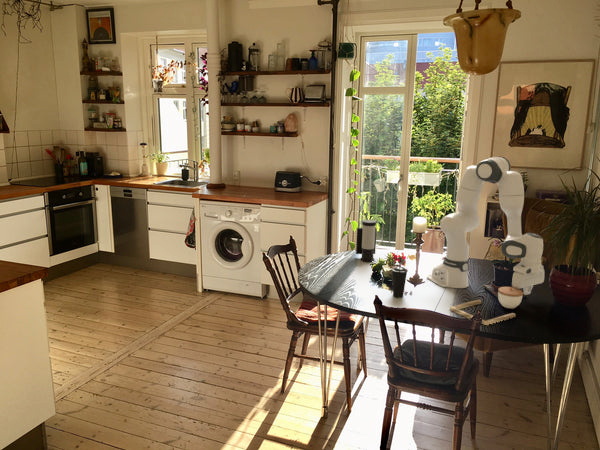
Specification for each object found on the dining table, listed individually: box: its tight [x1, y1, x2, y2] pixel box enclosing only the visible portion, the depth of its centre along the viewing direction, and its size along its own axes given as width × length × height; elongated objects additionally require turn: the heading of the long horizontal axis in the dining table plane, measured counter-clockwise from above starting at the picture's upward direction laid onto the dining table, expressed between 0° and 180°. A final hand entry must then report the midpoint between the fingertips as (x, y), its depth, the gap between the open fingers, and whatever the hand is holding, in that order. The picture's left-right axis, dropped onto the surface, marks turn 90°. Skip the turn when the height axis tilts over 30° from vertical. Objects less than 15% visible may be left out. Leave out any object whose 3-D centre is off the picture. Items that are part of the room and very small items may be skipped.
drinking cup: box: [391, 256, 408, 299], centre depth 240 cm, size 8×8×20 cm
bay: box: [449, 299, 517, 326], centre depth 223 cm, size 20×20×2 cm
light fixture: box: [355, 219, 377, 263], centre depth 299 cm, size 12×11×25 cm
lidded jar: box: [497, 286, 524, 309], centre depth 231 cm, size 11×11×9 cm
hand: (526, 294), depth 238 cm, fingers closed
